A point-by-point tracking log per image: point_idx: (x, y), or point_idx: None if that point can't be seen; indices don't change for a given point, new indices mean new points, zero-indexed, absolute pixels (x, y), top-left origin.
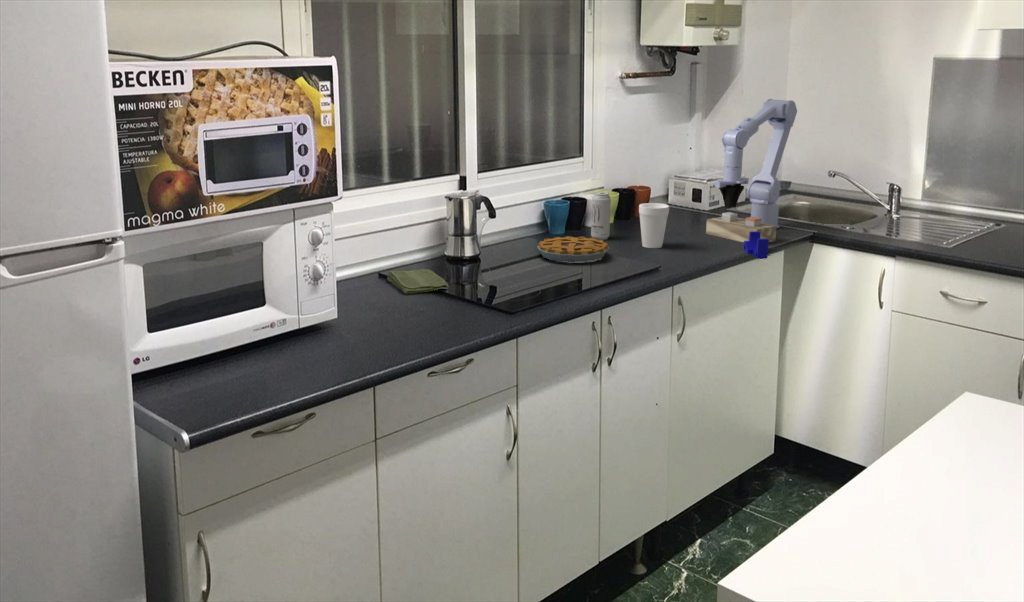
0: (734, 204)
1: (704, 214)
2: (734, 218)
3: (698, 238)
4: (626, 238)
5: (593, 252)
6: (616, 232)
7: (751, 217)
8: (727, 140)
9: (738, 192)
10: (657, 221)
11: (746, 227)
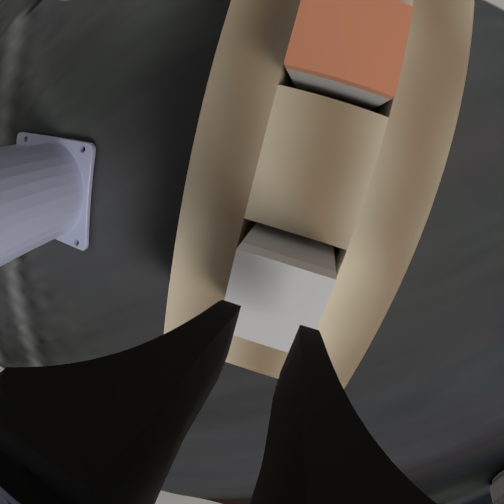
0: (232, 324)
1: None
2: (281, 246)
3: (453, 327)
4: (501, 453)
5: None
6: (435, 492)
7: (334, 57)
8: None
9: (162, 406)
10: None
11: (465, 67)
